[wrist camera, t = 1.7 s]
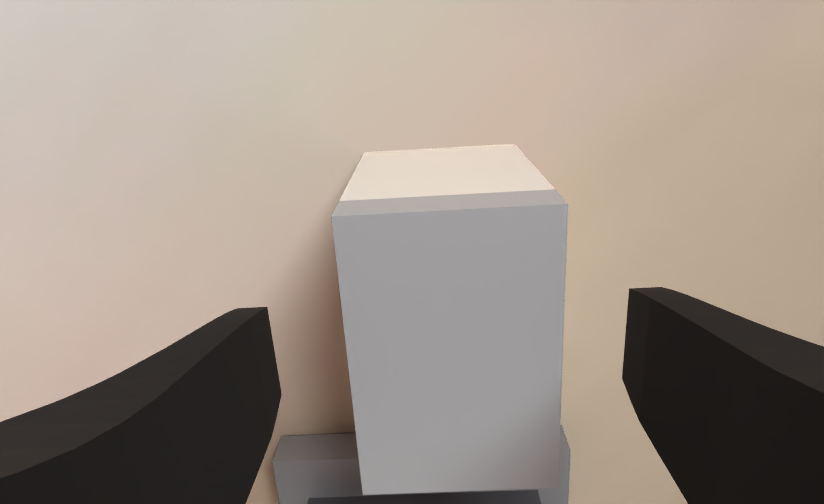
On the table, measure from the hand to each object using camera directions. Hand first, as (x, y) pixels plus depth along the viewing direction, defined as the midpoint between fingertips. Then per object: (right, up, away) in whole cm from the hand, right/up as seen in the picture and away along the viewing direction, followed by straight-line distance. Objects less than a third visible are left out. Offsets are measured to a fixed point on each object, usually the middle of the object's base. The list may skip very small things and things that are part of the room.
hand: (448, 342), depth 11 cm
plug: (0, +2, +5) cm, 5 cm away
